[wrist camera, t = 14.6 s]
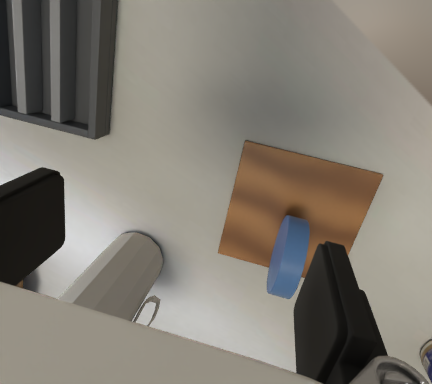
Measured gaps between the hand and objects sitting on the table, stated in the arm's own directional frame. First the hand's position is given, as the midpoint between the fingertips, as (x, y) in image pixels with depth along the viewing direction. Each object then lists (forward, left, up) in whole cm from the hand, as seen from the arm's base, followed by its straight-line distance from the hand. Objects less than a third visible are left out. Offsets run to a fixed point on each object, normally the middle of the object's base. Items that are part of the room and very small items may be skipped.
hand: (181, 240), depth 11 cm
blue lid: (+8, +7, -22) cm, 24 cm away
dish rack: (-4, -21, -23) cm, 31 cm away
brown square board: (+8, +7, -23) cm, 25 cm away
